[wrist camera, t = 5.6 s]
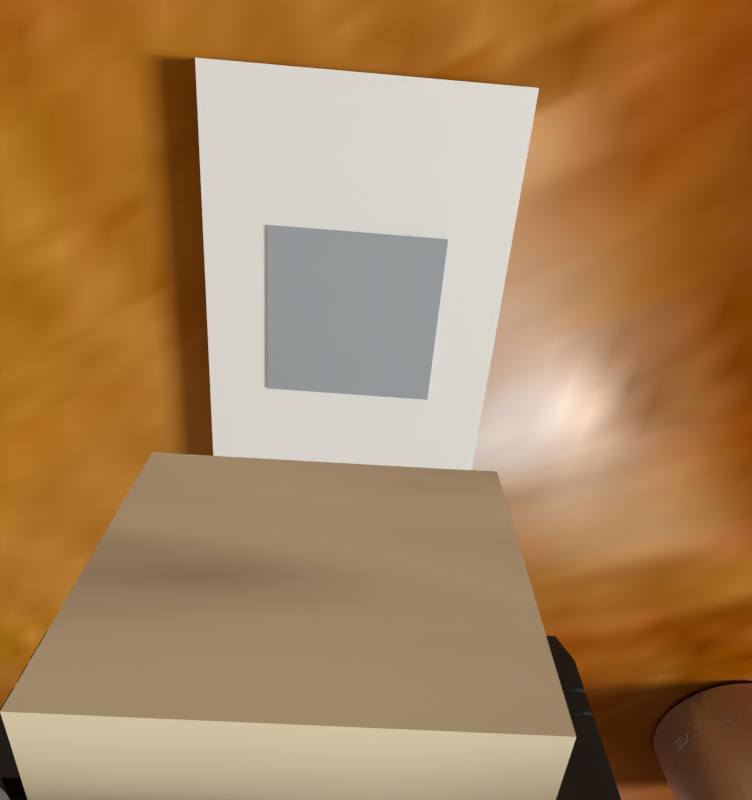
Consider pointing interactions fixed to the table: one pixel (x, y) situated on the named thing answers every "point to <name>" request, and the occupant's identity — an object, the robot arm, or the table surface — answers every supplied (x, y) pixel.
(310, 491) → the birch block
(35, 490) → the table surface
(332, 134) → the board
